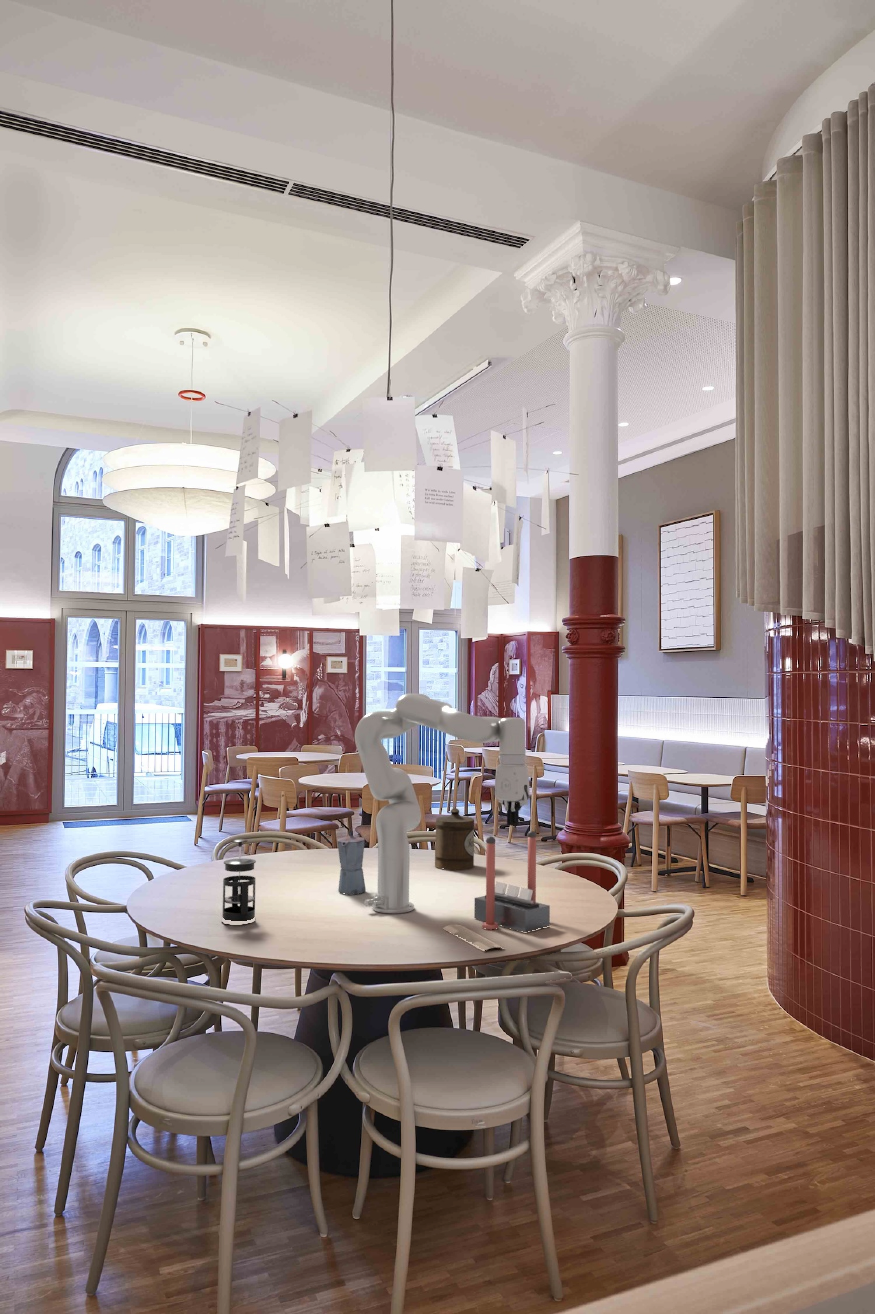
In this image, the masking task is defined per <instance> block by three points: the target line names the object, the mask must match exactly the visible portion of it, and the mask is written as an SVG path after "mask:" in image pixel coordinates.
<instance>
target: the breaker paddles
mask: <svg viewBox="0 0 875 1314" xmlns="http://www.w3.org/2000/svg"><path fill="white" fill-rule="evenodd" d="M532 893H533V890H530V889H528V888H527V887H526V888H525V887H520V886H517V885H513V884H507V883H504V882H499V881H495V895H496V896H500V897H504V898H508V899H512V900H516V901H520V902H524V903H528V904H533V903H534V902H533V901H532V900H531V897H532Z"/></svg>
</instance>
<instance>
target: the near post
mask: <svg viewBox="0 0 875 1314" xmlns="http://www.w3.org/2000/svg"><path fill="white" fill-rule="evenodd" d="M485 842H486V843H485V844H486V859H485V861H486V864H485V865H486V866H485V867H486V869H485V871H486V873H485V879H486V881H485V882H486V883H485V889H486V890H485V895H486V922H484V921H482V923H481V924H482V926H481V927H483V928H486V929H490V930H489V931H493V930H492V929H496V928H498V929H499V926H498V923H496V922H495V885H496V881H495V880H496V838H495V837H494V836H491V835H490V836H488V837H486V840H485ZM483 928H482V929H483Z"/></svg>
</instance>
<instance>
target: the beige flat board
mask: <svg viewBox="0 0 875 1314" xmlns="http://www.w3.org/2000/svg"><path fill="white" fill-rule="evenodd" d="M443 929H444V930H446V931H448V932H451V933H452V934H454V935H458V937H461V938H463V939H466V941H468V942H472V944H474V945H477V946H479V948H481V949H485V950H486V951H488V950H489V949H495V948H497V949H499V948H501V947H502V948H504V947H503V946H501V945H500V944H497V943H496V942H494V941H492V940H490V939H488V938H486V937H485V936H483V935H480V934H478V933H477V932H475V931H473V930H471V929H470V928H467V927H465V926H463V925H461V924H450V925H446V926H444V927H443V928H442V930H443ZM444 930H443V931H444ZM446 931H445V932H446ZM448 932H447V933H448ZM452 934H451V935H452Z"/></svg>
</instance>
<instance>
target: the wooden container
mask: <svg viewBox="0 0 875 1314" xmlns="http://www.w3.org/2000/svg"><path fill="white" fill-rule="evenodd" d="M450 813H451V814H450V815H449V816H439V817H436V819H435V839H434V840H435V844H434V867H435V868H437V867H438V868H437V869H439V868H444V869H450V870H449V871H466V869H467V870H471V869H473V868H474V865H475V862H474V861H475V829H474V828H475V819H474V818H473V817H469V816H461V815H460V810H459V809H458V808H456V807H454V808H452V809H451V810H450ZM470 868H471V869H470ZM444 869H443V870H444Z"/></svg>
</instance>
